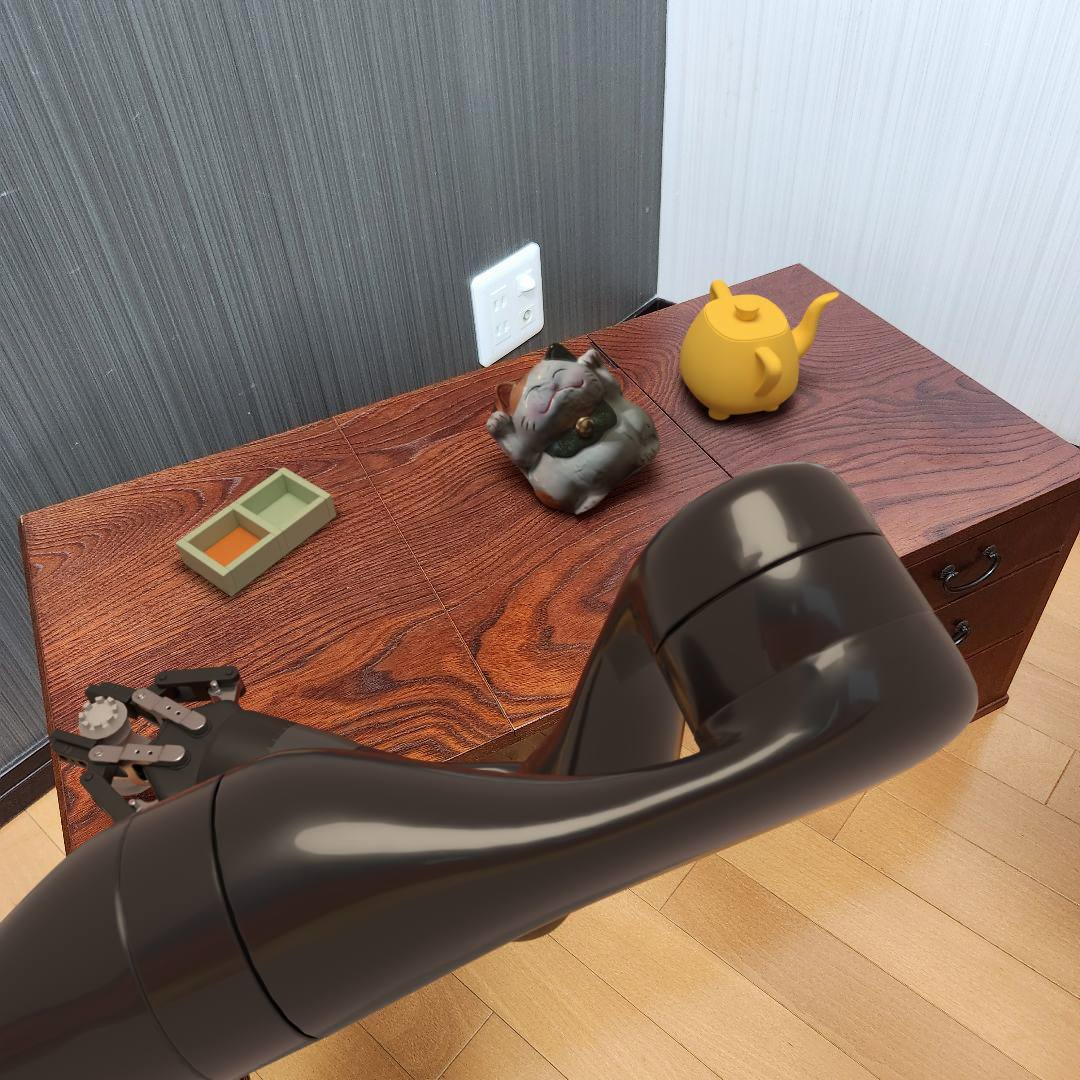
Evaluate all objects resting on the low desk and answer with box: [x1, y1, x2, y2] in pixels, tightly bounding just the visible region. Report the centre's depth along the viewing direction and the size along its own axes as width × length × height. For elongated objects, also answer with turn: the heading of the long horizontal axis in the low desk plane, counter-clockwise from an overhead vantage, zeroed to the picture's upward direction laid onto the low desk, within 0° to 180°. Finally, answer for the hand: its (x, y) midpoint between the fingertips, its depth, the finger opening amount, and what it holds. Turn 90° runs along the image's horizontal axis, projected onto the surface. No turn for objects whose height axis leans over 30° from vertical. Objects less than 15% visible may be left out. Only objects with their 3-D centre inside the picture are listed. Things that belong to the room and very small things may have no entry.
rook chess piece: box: [77, 696, 153, 797], centre depth 67 cm, size 4×4×8 cm
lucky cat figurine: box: [485, 342, 661, 516], centre depth 93 cm, size 15×12×14 cm
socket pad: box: [175, 466, 337, 598], centre depth 91 cm, size 13×7×3 cm, turn 142°
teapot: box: [678, 279, 840, 421], centre depth 101 cm, size 14×14×12 cm
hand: (74, 717), depth 66 cm, fingers closed on rook chess piece, 3 cm apart
